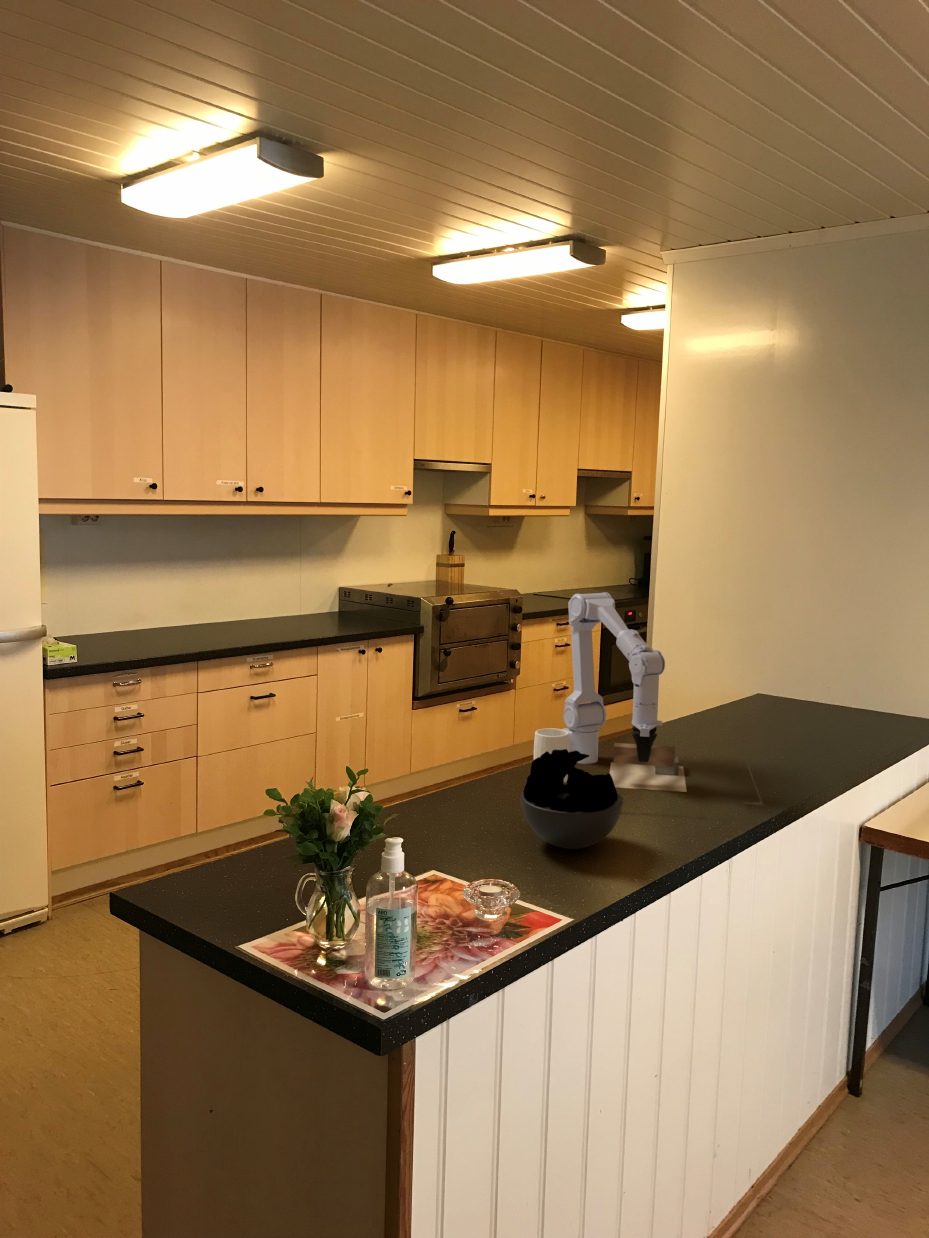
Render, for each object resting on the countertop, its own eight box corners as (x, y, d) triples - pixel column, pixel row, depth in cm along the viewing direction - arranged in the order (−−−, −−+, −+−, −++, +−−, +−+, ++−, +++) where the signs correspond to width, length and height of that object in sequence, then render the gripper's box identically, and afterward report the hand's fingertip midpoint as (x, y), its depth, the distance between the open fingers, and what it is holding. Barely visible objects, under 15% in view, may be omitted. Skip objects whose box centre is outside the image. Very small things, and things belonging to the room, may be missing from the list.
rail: (613, 763, 231) (613, 746, 230) (613, 759, 234) (614, 742, 233) (674, 766, 228) (675, 750, 228) (673, 762, 232) (674, 746, 231)
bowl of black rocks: (556, 821, 208) (558, 735, 206) (640, 843, 196) (643, 751, 193) (499, 847, 193) (500, 754, 190) (586, 873, 180) (588, 774, 178)
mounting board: (607, 789, 230) (608, 786, 230) (610, 765, 251) (610, 762, 251) (686, 794, 227) (686, 791, 227) (683, 769, 248) (683, 766, 248)
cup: (567, 798, 224) (568, 737, 222) (530, 795, 225) (531, 735, 224) (570, 787, 232) (572, 728, 230) (535, 785, 234) (536, 726, 232)
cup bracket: (655, 774, 241) (655, 762, 240) (654, 766, 247) (655, 754, 247) (678, 775, 240) (679, 763, 239) (677, 767, 246) (678, 756, 246)
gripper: (663, 710, 221) (661, 768, 223) (662, 696, 235) (660, 751, 237) (631, 708, 223) (629, 766, 224) (632, 695, 237) (630, 750, 239)
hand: (643, 759), depth 231 cm, fingers closed on rail, 3 cm apart
